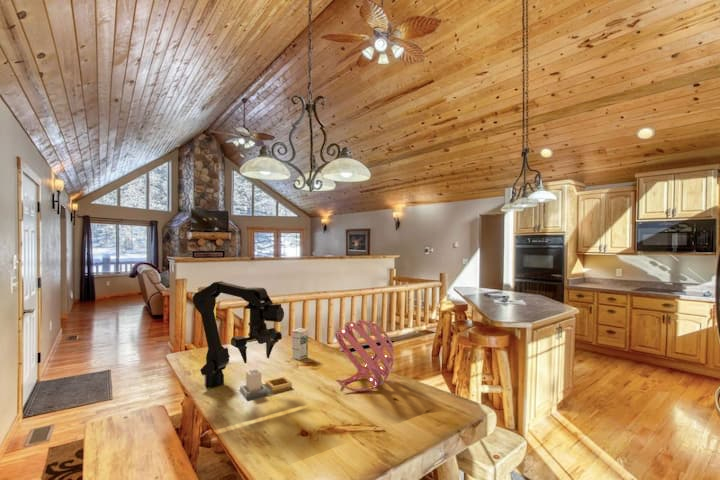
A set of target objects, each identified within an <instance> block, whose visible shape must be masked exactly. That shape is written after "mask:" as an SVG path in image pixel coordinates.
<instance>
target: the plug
mask: <svg viewBox="0 0 720 480" xmlns="http://www.w3.org/2000/svg"><path fill="white" fill-rule="evenodd" d="M245 374H246V378H245V382H246V383H245V385H246V390H247V391H248V392H251V391H255V390H259V389H261V383H262V371H261V370H259V369H258V368H256V369H255V368H254V369H251V370H246V373H245Z"/></svg>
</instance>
